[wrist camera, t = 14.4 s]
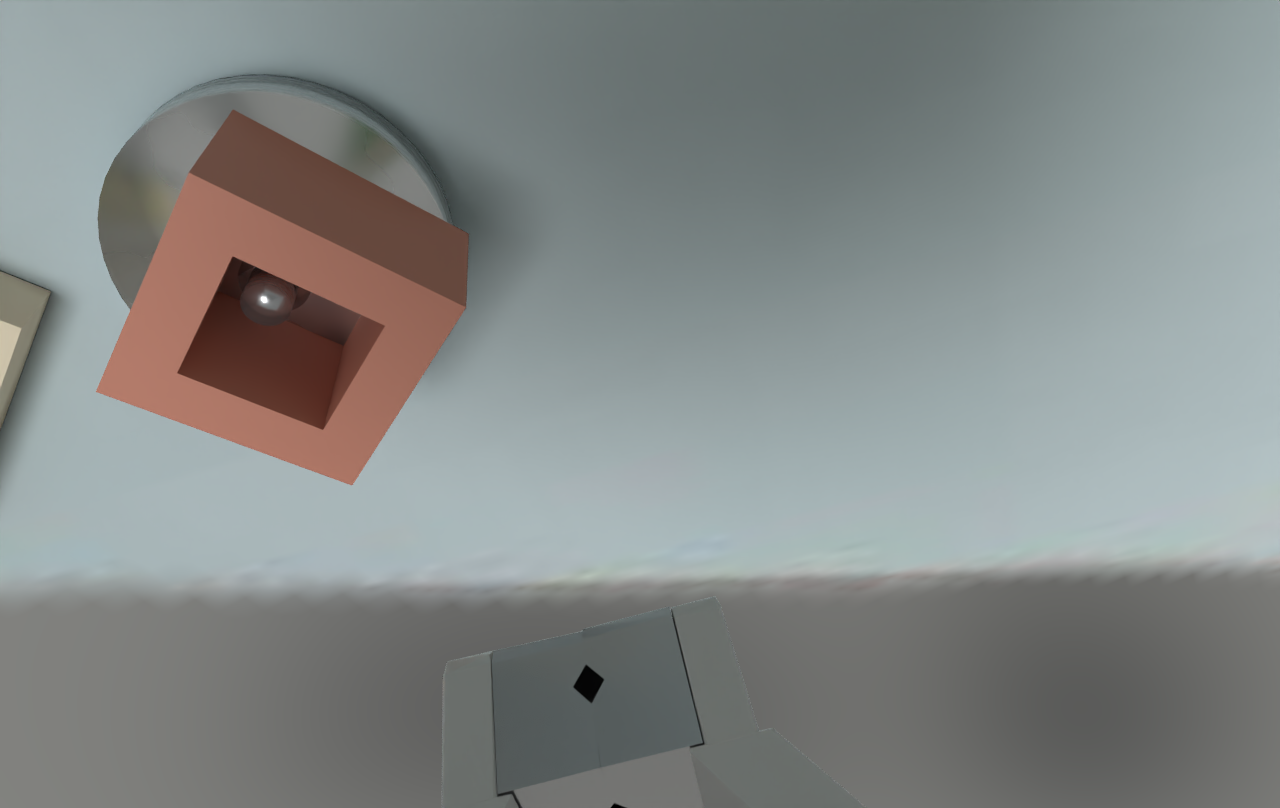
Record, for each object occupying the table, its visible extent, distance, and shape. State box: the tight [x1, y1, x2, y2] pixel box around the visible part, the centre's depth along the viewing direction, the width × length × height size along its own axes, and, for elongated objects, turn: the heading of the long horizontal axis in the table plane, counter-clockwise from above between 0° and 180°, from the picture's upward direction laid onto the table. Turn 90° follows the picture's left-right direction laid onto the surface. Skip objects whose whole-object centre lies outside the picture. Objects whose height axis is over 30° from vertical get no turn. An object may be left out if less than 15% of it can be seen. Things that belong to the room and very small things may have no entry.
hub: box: [98, 75, 452, 346], centre depth 24 cm, size 9×9×4 cm
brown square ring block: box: [96, 110, 469, 485], centre depth 23 cm, size 6×6×4 cm
